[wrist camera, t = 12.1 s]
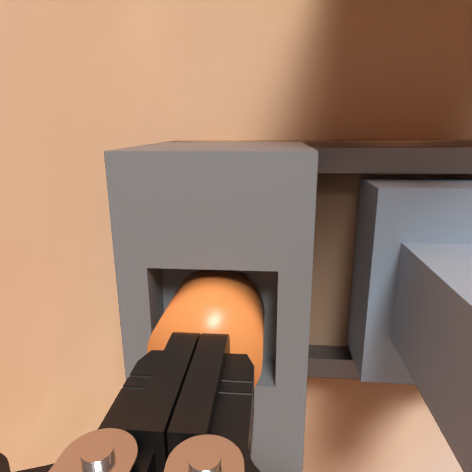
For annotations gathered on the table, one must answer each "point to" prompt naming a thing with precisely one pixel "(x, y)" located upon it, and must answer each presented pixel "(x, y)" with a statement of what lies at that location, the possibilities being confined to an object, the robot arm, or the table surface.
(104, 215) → the table surface
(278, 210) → the cabinet
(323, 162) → the guide rails
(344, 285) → the rail bed
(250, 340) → the button
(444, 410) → the carriage
